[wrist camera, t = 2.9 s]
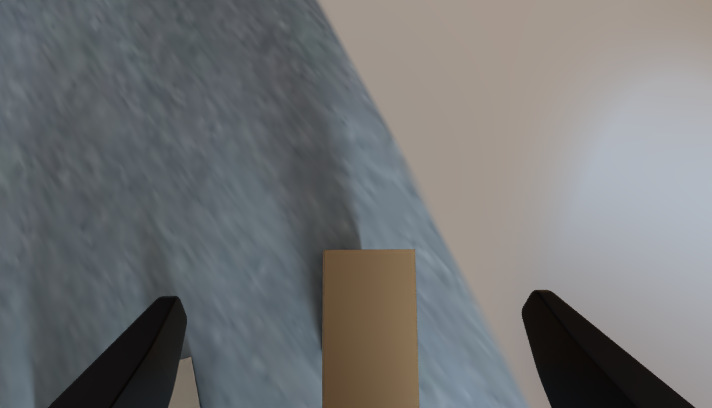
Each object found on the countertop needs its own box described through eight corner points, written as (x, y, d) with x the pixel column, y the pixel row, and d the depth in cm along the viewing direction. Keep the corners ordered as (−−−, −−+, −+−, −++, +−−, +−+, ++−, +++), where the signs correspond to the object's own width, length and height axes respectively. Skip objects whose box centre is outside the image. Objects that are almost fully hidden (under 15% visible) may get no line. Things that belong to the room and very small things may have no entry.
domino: (363, 251, 18) (414, 249, 8) (363, 356, 17) (421, 496, 7) (322, 251, 18) (324, 249, 8) (322, 357, 17) (323, 503, 7)
